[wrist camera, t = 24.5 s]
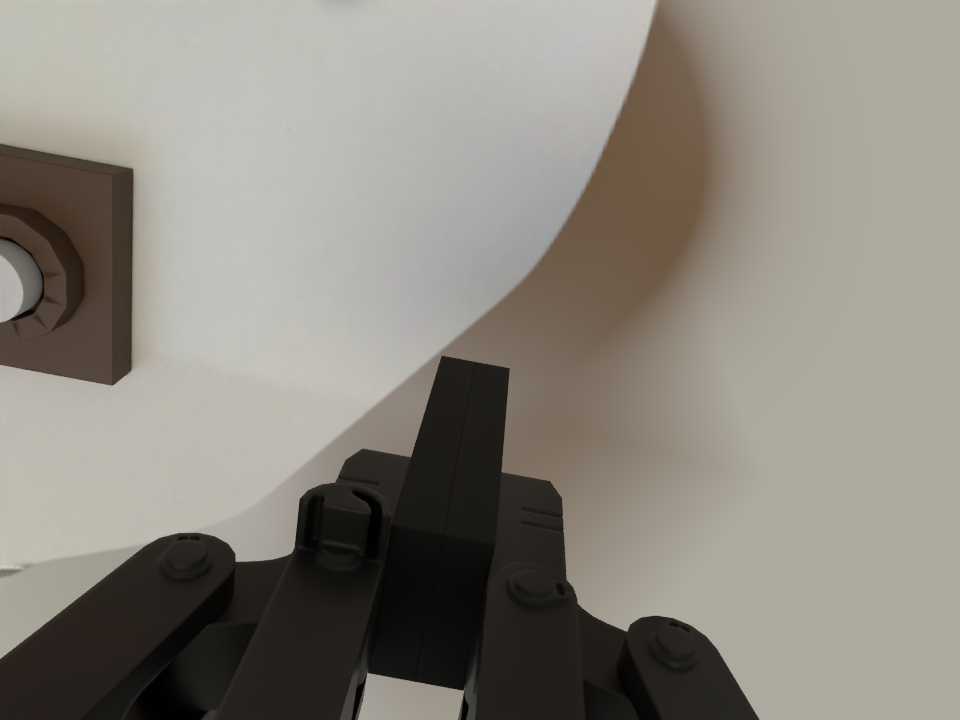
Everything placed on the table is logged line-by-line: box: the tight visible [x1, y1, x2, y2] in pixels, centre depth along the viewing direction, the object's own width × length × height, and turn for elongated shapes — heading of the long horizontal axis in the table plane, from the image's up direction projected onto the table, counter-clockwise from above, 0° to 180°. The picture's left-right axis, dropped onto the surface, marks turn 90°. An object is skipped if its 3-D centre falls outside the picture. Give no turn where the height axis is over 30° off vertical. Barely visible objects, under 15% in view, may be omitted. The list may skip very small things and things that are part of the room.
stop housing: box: [0, 145, 132, 385], centre depth 43 cm, size 12×10×4 cm
